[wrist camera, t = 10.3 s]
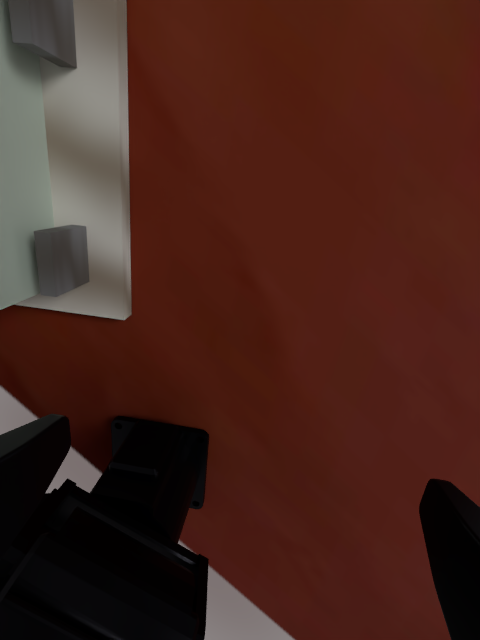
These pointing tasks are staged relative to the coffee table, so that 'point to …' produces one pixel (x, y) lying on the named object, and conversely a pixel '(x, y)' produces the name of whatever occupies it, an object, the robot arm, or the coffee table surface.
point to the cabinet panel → (82, 152)
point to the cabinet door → (21, 167)
